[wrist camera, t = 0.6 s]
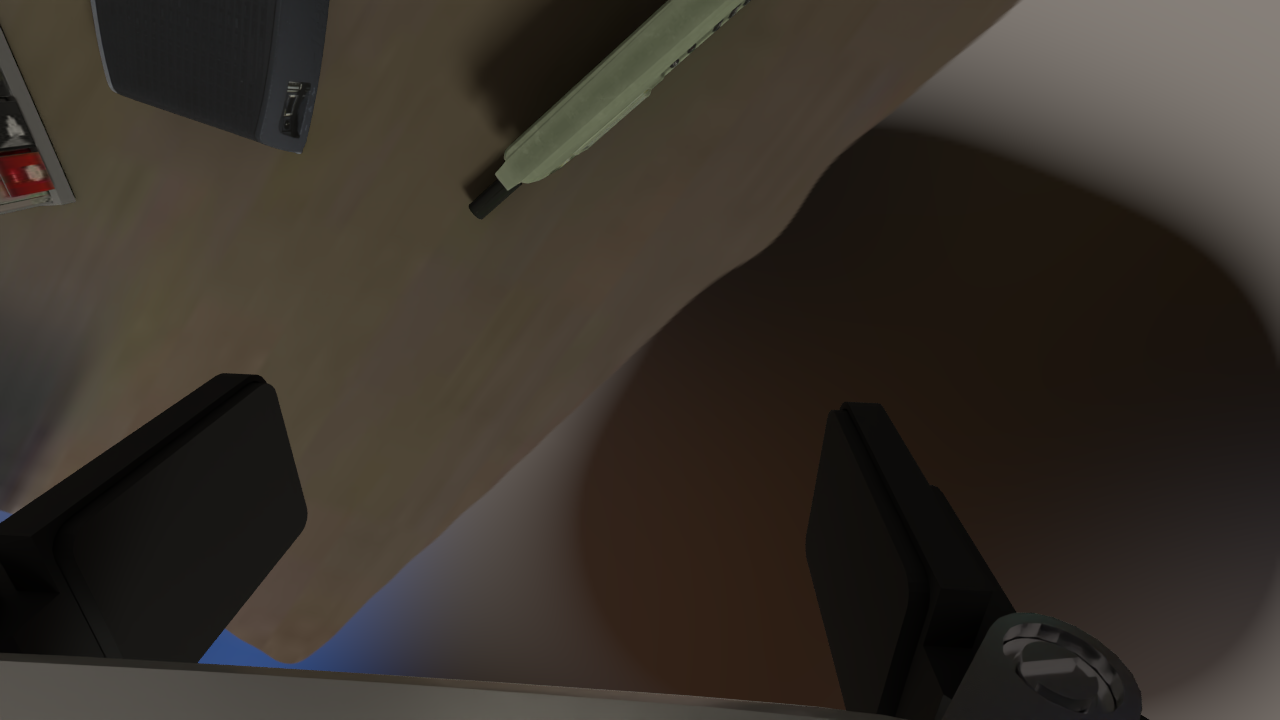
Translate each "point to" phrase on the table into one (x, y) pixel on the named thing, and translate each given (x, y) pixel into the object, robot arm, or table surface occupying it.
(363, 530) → the table surface
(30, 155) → the grey printed box
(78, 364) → the table surface
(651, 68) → the handheld radio
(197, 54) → the external hard drive
